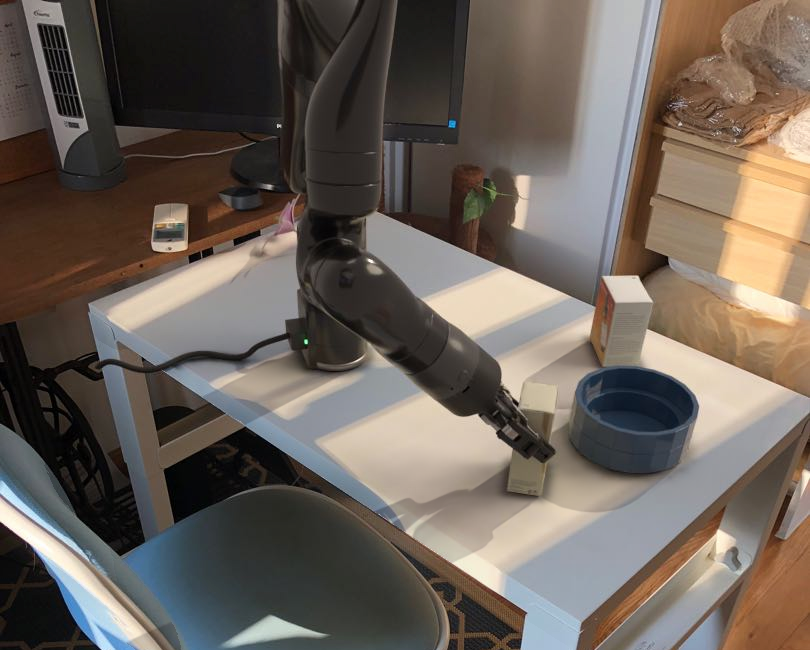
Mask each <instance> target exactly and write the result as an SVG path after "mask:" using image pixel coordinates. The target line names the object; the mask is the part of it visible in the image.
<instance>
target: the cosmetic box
mask: <svg viewBox="0 0 810 650" xmlns="http://www.w3.org/2000/svg"><path fill="white" fill-rule="evenodd" d="M519 395H520V396H519V401H518V402H519V406H518V408H519V409H520V410H521V411H522V412H523V413H524V414H525V415H526V416H527V418H528V425H529V426H530V427H531V428H532V429H533V430H534V431H535V432H537V433H538V434H539V436H540V437H542V438H543V439H544V440H545V441H547V442H548V443H549V444H550V445H551V441H552V434H553V428H554V423H555V416H556V411H557V405H558V397H559V385H554V384H553V385H552V384H547V383H539V382H534V381H533V382H532V381H526V380H524V381H522V385H521V389H520V394H519ZM519 419H520V418H519V417H518V416H517V419H516V420H517V421H519ZM547 465H548V461H547V462H546V463H541V462H539V461H538V460H537V459H536V458H534V457H533V456H531V457H530V458H529V459H528V460H527V459H526V458H524V457H523V456H522V455H521V454H519V453H518V452H517V451H515V450H514V449H513V448H512V450H511V458H510V465H509V472H508V480H507V487H506V491H507V492H512V493H517V494H523V495H531V496H539V497H540V496H542V493H543V488H544V483H545V475H546V470H547Z"/></svg>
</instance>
